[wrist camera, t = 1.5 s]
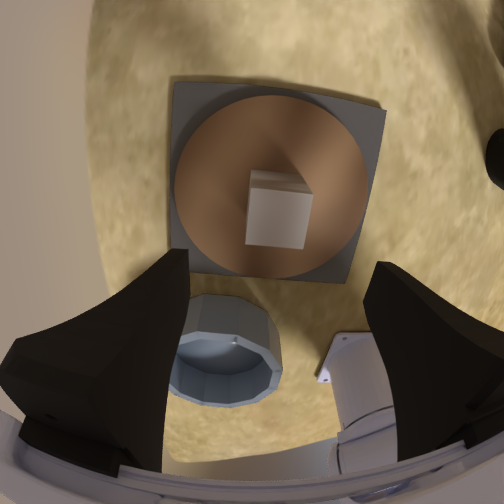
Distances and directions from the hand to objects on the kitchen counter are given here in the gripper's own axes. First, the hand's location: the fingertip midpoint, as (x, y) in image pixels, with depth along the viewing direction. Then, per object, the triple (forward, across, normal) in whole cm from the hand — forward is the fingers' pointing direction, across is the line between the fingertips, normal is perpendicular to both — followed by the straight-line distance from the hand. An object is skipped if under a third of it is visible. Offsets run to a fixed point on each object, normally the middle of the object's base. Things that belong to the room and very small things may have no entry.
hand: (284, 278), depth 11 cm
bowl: (+10, +3, +15) cm, 18 cm away
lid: (+10, 0, 0) cm, 10 cm away
